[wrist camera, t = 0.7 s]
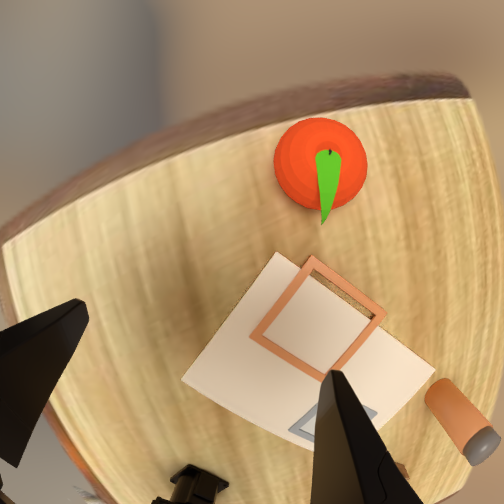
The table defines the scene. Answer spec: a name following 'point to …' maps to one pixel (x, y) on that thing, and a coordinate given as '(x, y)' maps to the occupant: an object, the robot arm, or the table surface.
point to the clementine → (320, 164)
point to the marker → (462, 421)
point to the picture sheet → (303, 353)
